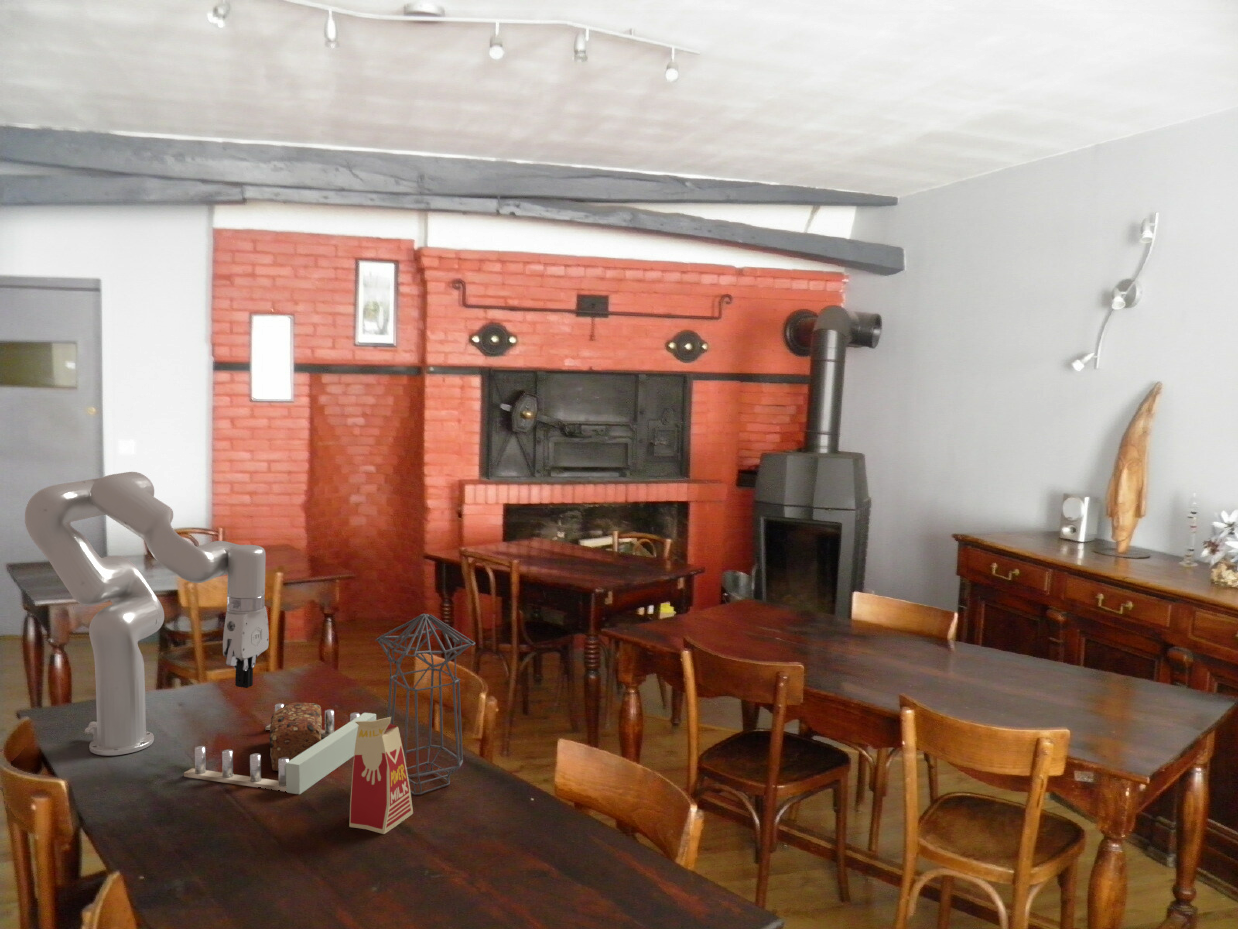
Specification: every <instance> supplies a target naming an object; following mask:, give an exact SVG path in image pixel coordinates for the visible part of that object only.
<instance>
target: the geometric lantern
mask: <svg viewBox="0 0 1238 929" xmlns="http://www.w3.org/2000/svg"><path fill="white" fill-rule="evenodd" d="M407 626H408V627H407ZM435 626H436V627H435ZM405 627H407V628H406V629H404V631H402V633H400V635H392V634H393V633H395V632H397V631H399V630H401V629H403V628H405ZM428 627H429V629H428ZM415 628H416V630H415V631H414V629H415ZM413 631H414V633H413V634H411V633H412V632H413ZM436 631H441V632H442V634H443V636H444V638H445V641H446V643H447V645H448V647H449V648H448V649H445V647H444V644H443V642H442V641H441V640H440V637H439V636H438V634H437V632H436ZM423 635H425V636H426V637H425V638H424V639H423V640H422V641H421V639H422V636H423ZM432 635H433V636H434V637H435V640H436V642H437V644H438V645H439V646H440V648H441V650H432V649H431V648H432V647H431V641H430V638H431V636H432ZM408 638H411V640H410V641H409V643H408V642H407V641H408ZM416 638H417V641H416V646H415V647H412V645H413V643H414V641H415V640H416ZM449 638H451V641H452V642H453V647H452V643H451V641H450V640H449ZM391 639H394V640H391ZM399 640H400V641H399ZM374 641H375V642H378V644H379V645H380V647H381V648H382V650H383V651H384V653H385V655H386V656H387V661H388V662H389V685H388V686H389V687H388V699H387V700H388V702H387V713H386V714H387V715H386V718H388V717H391V721H390V724H393V725H395V724H394V722H395V721H394V720H395V711H396V698H397V685H399V686H400V687H402V688H403V689H405V690H406V700H405V702H406V703H405V717H404V718H405V719H404V739H403V741H404V742H403V752H404V756H405V762H406V763H407V754H408V753H413V752H415V764H414V765H412V766H411V765H410V766H408V767H406V768H407V771H408V770H411V769H414V768H415V769H416V770H415V772H416V773H414V774H408V779H409V783H411V784H412V785H413V791H412V789H410V792H411V795H414V796H418V795H424V794H427V793H429V792H431V791H432V792H433V791H435V790H438V789H440V788H444V787H447V786H450V783H451V775H452V774H454V773H455V772H457V771H458V770H459V769H460V768H461V767H462V764H463V762H464V754H463V753H464V751H463V735H462V734H463V732H462V730H463V729H462V712H461V711H462V707H461V688H460V687H461V684H460V682H461V678H458V677H457V656H461V655H462V653H463V652H464V651H466V650H467V649H469V648H470V647H473V646H474V645H476V642H475V641H473V640H472V639H470V638H469V637H467V636H466V635H464V634H462V633H461V632H459V631H458V630H456V629H455V628H453V627H451V626H450V625H448V624H447V623H446V622H445V623H444V621H442V620H440V619H439V618H437V617H436V616H434V615H433V614H428V613H422V614H420V615H418V616H416V617H414V618H413V619H410V620H409V621H407V622H405V623H404V624H401V625H400V626H397V627H395V628H394V629H392V630H389V631H388V632H386V633H383V634H381V635H379V637H377V638H376V639H375V640H374ZM398 641H399V642H398ZM403 643H404V646H403V645H402V644H403ZM407 643H408V645H407ZM425 643H427V650H420V649H421V648H422V646H423V645H424V644H425ZM463 643H465V644H463ZM385 645H387V647H385ZM457 645H459V646H457ZM394 646H395V647H394ZM399 648H400V649H402V650H398V649H399ZM390 649H391V651H390ZM457 650H458V651H457ZM410 651H414V652H413V653H412V654H409V652H410ZM390 652H391V654H392V656H391V655H390ZM395 653H397V654H400V657H398V658H397V659H396V657H395ZM453 653H454V654H453ZM425 654H427V655H429V656H430V660H431V662H429V661H428V659H427V658H426V657H425V656H424V655H425ZM437 654H438V655H439V654H444V661H443V662H439V663H436V664H434V655H437ZM452 654H453V655H452ZM420 655H421V656H420ZM405 657H413V658H415V657H416V658H417V659H418V660H420V661H421V662H423V663H425V664H426V665H428V667H427V668H423V669H418V670H412V671H407V672H403V671H402V669H401V666H402V662H403V658H405ZM452 660H454V675H453V672H452V671H451V668H450V666H449V664H448V663H450V661H452ZM392 663H393V664H394V665H395V666H396V670H395V673H394V674H393V675H392ZM437 667H440V668H437ZM444 667H446V669H447V671H446V670H444V669H443V668H444ZM428 671H430V672H431V673H430V675H431V676H430V687H429V686H428V687H424V688H416V687H417V685H418V684H419V683H420V681H421V680H422V679H423V677H424V676H425V674H427V672H428ZM420 672H423V673H422V674H421V676H420V677H419V679H418V680H417V682H416V683H415V684H414V686H413V687H410V686H409V684H408V682H407V680H406V677H405V675H410V674H415V673H420ZM435 672H438V685H434V683H435V682H434V680H435V675H434V674H435ZM442 673H443V674H445V675H447V676H449V677H450V679H451V681H452V682H450V683H444V684H443V682H442V680H443V679H442ZM398 676H400V677H401V679H402V681H403V683H404V684H402V683H401V682H399V681H398ZM447 686H452V701H453V702H452V704H453V716H454V732H455V734H454V735H455V749H456V750H455V752H456V754H455V753H453V752H452V751H450V750H449V749H447V748H446V747H444V726H443V725H444V723H443V722H444V721H443V720H444V718H443V687H447ZM436 688H438V692H439V694H438V696H439V697H438V698H439V732H440V734H439V735H440V737H439V738H440V745H436V744H435V745H434V744H432V730H433V729H432V726H433V724H432V723H433V706H434V705H433V704H434V702H433V700H434V699H433V698H434V689H436ZM429 689H430V694H429V695H430V698H429V716H428V717H429V721H428V723H429V724H428V739H427V740H428V741H427V745H423V746H419V719H418V717H419V715H418V710H419V709H418V705H419V704H418V692H421V691H426V690H429ZM392 690H393V693H392ZM456 690H457V691H456ZM410 691H411V692H414V728H415V730H414V733H415V736H414V737H415V748H412V749H408V732H409V730H408V729H409V728H408V727H409V713H410V712H409V710H410V709H409V707H410ZM456 692H457V694H456ZM392 694H393V696H392ZM456 696H457V697H456ZM391 706H392V707H391ZM431 748H432V749H438V751H437V753H436V755H435V756H434V757H433V760H432V761H431V762H430V750H431ZM425 749H427V756H426V761H425V762H422V763H420V762H419V761H420V760H419V757H420V756H419V755H420V754H419V751H420V750H425ZM442 751H444V752H445V753H447V754H448V755H450V756H452V757H453V758H455V759H456V765H453V766H449V767H444V768H443V767H441V766H439V765H438V764H437V763H434V762H435V761H436V760H437V758H438V756H439V754H440V752H442ZM424 765H425V770H423V771H420V766H424ZM428 765H430V769H429V768H428ZM434 767H436V768H438V769H436V770H434ZM443 772H445V773H446V774H444V775H442V774H440V773H443ZM434 774H435V775H436V776H437V777H434V778H430V779H425V780H423V781H421V780H420V777H421V778H422V777H425V776H429V775H430V776H431V775H434ZM411 778H417V782H415V781H413V780H412V779H411ZM439 779H440V780H441V779H442V780H444V781H446V783H445V784H442V785H438V786H436V787H432V788H430V789H428V790H427V789H426V790H423V791H422V787H423V786H422V784H426V783H428V782H432V781H435V780H436V781H437V780H439ZM417 786H419V792H417Z"/></svg>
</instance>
